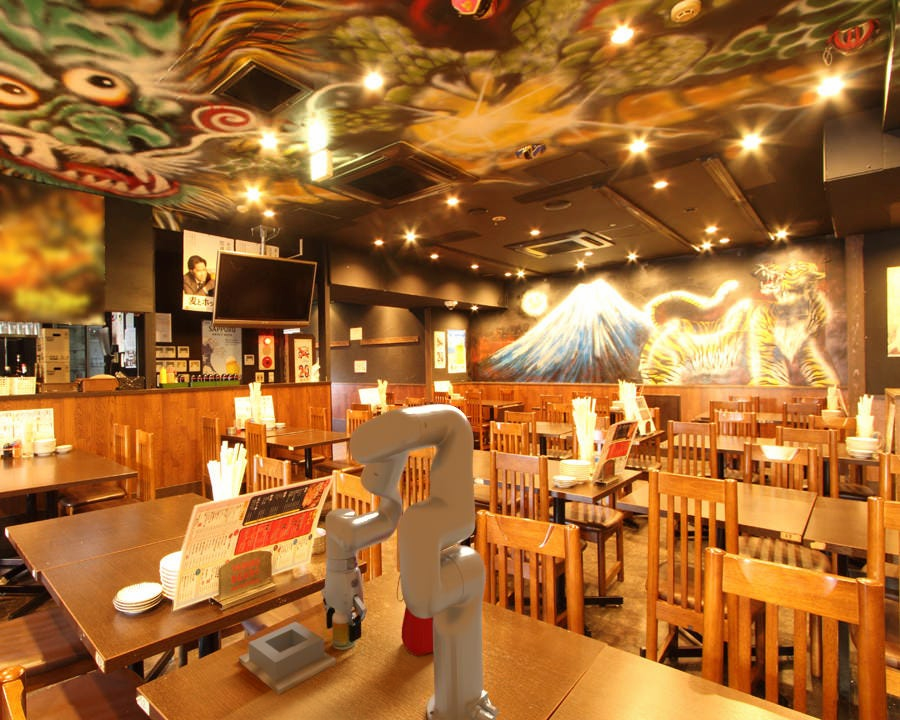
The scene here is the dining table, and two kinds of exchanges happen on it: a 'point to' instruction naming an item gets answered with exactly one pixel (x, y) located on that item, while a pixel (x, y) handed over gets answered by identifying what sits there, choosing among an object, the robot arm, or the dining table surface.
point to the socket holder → (282, 664)
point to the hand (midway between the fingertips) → (343, 632)
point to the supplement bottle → (341, 630)
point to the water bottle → (417, 633)
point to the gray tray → (292, 678)
